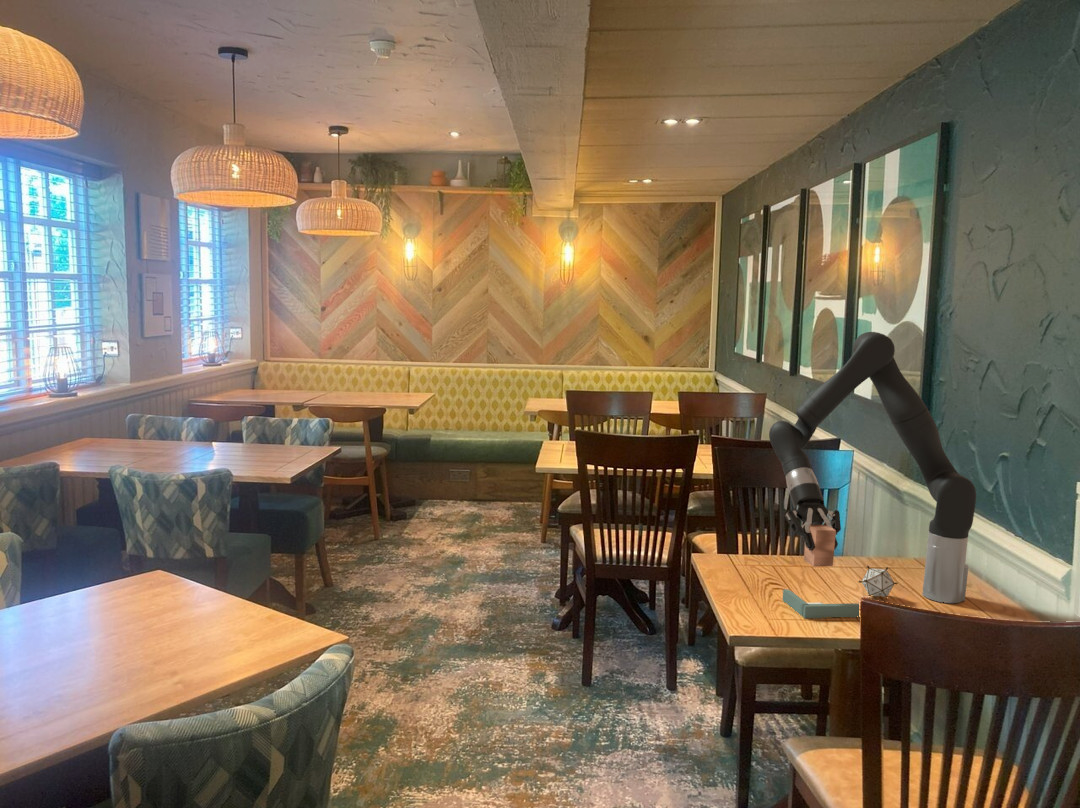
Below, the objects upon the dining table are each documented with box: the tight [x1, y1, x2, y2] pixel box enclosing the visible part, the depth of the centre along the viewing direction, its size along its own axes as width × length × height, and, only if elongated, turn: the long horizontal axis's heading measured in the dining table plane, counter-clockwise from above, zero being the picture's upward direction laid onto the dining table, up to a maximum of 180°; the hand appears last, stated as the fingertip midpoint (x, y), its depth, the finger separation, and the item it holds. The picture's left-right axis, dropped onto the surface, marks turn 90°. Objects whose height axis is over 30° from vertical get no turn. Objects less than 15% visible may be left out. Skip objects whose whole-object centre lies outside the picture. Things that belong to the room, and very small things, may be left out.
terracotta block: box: [803, 525, 837, 567], centre depth 194 cm, size 5×5×9 cm
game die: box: [857, 565, 899, 598], centre depth 207 cm, size 9×8×10 cm
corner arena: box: [782, 588, 860, 619], centre depth 197 cm, size 16×12×3 cm
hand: (823, 548), depth 193 cm, fingers closed on terracotta block, 5 cm apart
